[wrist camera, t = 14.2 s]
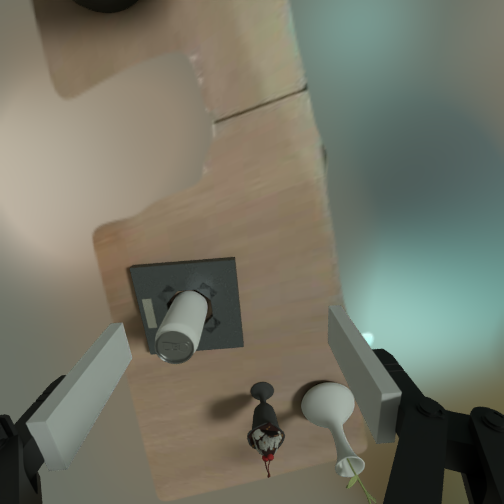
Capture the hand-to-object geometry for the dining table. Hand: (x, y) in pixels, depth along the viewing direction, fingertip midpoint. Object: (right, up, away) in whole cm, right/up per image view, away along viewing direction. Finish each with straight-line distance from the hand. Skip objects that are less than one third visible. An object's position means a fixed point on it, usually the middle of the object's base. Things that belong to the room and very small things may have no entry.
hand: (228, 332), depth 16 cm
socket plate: (-10, -5, +32) cm, 33 cm away
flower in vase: (+18, -27, +40) cm, 52 cm away
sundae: (+4, -25, +39) cm, 46 cm away
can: (-10, -5, +32) cm, 34 cm away
